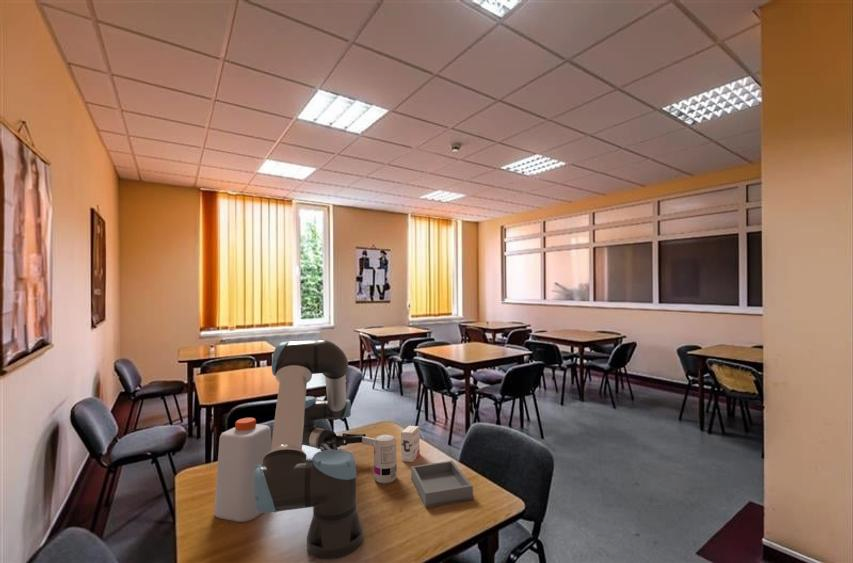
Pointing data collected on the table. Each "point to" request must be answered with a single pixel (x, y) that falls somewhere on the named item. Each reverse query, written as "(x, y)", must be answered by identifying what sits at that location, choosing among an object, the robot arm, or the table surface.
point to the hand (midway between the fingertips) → (364, 449)
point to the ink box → (410, 443)
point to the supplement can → (385, 458)
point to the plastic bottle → (240, 469)
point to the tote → (441, 484)
